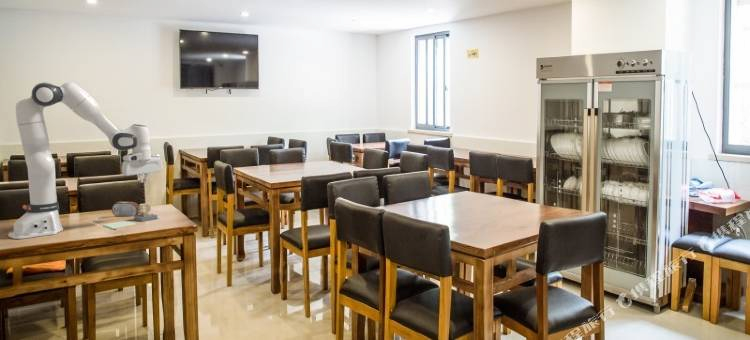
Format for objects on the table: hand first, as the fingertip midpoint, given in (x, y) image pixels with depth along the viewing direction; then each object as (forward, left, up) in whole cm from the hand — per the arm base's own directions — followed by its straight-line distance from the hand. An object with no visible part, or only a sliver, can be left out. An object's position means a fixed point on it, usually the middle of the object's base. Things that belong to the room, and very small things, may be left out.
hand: (143, 182), depth 285 cm
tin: (-2, +18, -21) cm, 28 cm away
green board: (-14, -1, -21) cm, 25 cm away
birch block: (0, 0, -20) cm, 20 cm away
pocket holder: (0, 0, -21) cm, 21 cm away
